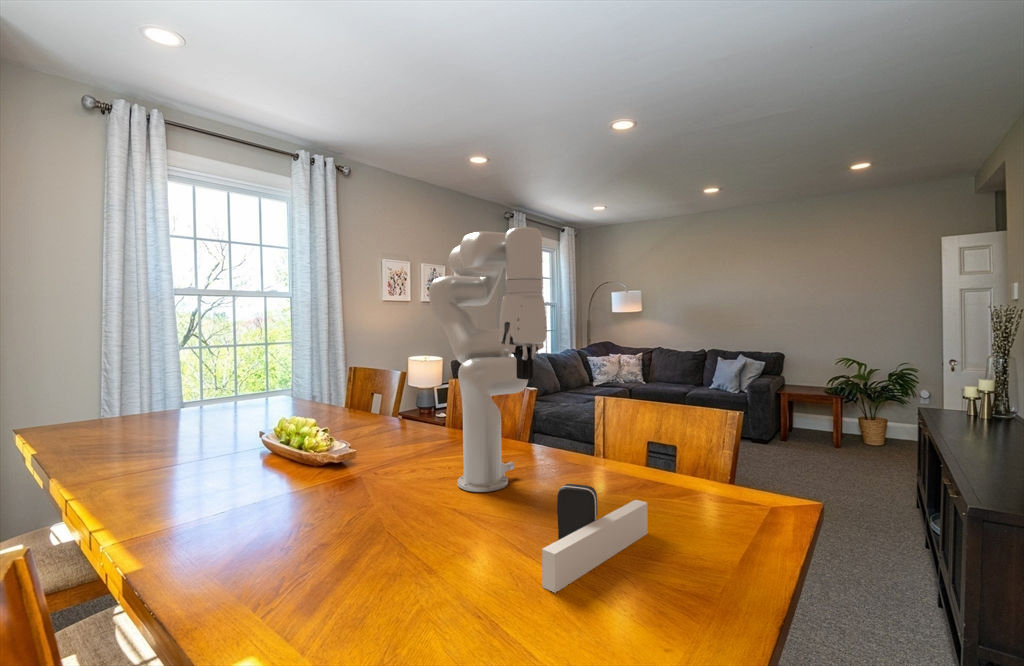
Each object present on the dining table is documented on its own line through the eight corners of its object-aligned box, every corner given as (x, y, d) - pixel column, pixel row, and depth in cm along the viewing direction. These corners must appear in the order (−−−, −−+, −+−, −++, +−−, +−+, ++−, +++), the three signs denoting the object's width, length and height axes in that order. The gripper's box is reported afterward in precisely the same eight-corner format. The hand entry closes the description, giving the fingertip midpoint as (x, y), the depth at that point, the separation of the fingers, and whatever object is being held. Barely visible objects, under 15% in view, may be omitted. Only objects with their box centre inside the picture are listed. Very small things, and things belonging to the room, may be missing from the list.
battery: (599, 546, 90) (599, 484, 90) (595, 556, 87) (594, 491, 87) (562, 540, 93) (561, 480, 93) (556, 549, 90) (555, 486, 89)
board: (635, 529, 97) (635, 499, 97) (647, 533, 96) (647, 502, 95) (542, 587, 77) (542, 548, 77) (554, 593, 75) (554, 554, 75)
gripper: (534, 291, 110) (535, 374, 111) (484, 289, 99) (485, 380, 100) (561, 289, 105) (561, 376, 106) (511, 287, 94) (512, 384, 95)
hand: (524, 378), depth 103 cm, fingers closed
